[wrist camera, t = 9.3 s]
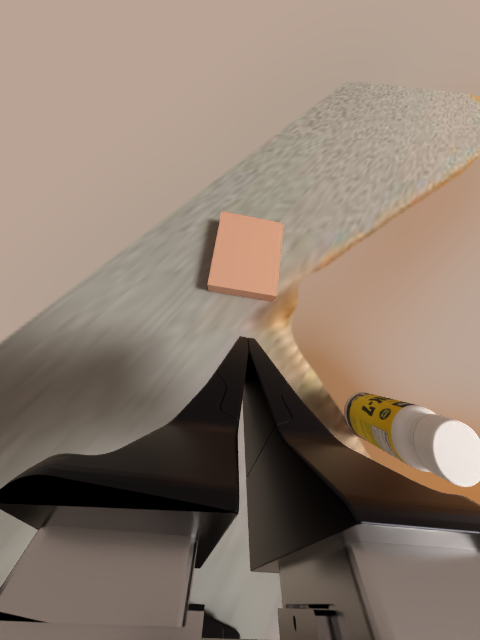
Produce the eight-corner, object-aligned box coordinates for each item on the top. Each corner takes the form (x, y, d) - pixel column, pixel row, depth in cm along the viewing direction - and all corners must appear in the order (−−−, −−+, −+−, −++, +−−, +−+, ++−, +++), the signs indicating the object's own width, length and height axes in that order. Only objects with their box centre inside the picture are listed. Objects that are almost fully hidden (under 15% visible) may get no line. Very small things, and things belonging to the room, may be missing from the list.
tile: (276, 296, 20) (283, 223, 22) (207, 284, 19) (221, 211, 22) (271, 302, 22) (277, 235, 24) (208, 292, 22) (221, 224, 24)
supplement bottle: (369, 385, 20) (466, 403, 12) (389, 426, 20) (506, 473, 12) (335, 401, 20) (415, 431, 12) (354, 444, 19) (454, 510, 11)
